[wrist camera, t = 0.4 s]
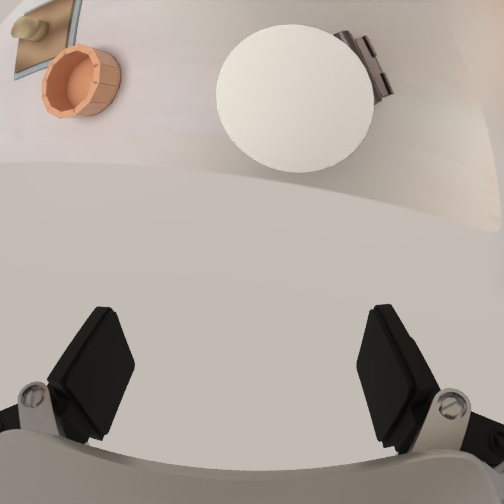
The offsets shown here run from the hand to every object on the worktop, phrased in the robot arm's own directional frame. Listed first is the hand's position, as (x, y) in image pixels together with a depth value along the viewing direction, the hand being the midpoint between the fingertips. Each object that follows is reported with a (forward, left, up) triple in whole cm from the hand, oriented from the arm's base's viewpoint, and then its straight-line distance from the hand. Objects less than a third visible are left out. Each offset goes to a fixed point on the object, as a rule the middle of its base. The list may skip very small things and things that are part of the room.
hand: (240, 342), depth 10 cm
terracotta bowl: (-15, -24, -30) cm, 42 cm away
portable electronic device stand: (-16, +12, -31) cm, 36 cm away
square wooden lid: (-27, -35, -30) cm, 53 cm away
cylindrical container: (-9, +2, -31) cm, 32 cm away
